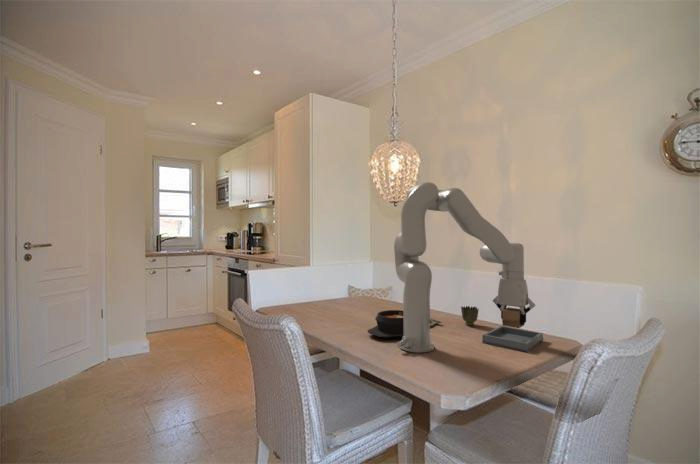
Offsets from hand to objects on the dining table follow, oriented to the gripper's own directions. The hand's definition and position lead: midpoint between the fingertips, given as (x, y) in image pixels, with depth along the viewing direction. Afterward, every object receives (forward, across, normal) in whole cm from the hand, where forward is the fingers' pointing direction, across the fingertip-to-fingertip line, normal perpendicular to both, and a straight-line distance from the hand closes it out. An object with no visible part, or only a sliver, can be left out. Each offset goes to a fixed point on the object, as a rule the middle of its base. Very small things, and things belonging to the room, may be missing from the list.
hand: (513, 322), depth 139 cm
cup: (+8, -23, +12) cm, 27 cm away
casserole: (+7, -39, -22) cm, 46 cm away
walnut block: (+1, 0, 0) cm, 1 cm away
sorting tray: (+7, 0, 0) cm, 7 cm away
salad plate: (+8, -43, -1) cm, 44 cm away
